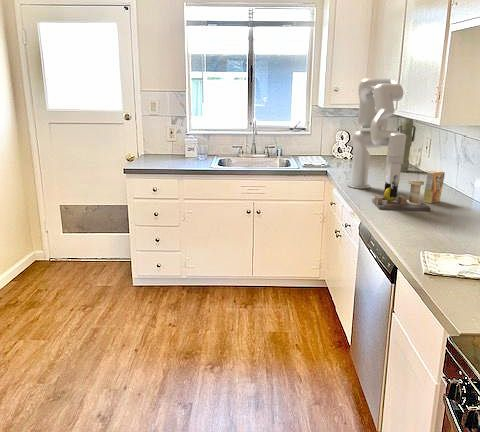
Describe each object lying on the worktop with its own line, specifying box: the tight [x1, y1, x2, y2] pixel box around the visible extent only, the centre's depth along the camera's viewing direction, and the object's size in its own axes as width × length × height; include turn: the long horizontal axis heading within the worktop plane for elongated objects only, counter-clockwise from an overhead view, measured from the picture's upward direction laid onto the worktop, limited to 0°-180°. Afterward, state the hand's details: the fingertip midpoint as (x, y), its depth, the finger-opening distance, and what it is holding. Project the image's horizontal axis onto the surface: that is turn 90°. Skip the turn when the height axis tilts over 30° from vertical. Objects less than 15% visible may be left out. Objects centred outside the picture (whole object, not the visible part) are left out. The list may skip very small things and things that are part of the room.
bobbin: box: [406, 179, 425, 206], centre depth 220 cm, size 7×7×11 cm
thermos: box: [396, 117, 417, 173], centre depth 303 cm, size 9×12×35 cm
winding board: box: [371, 194, 432, 212], centre depth 222 cm, size 14×24×4 cm, turn 88°
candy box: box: [422, 170, 446, 204], centre depth 230 cm, size 9×4×15 cm, turn 123°
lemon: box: [383, 187, 397, 203], centre depth 221 cm, size 6×6×8 cm
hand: (390, 194), depth 221 cm, fingers open, 9 cm apart
